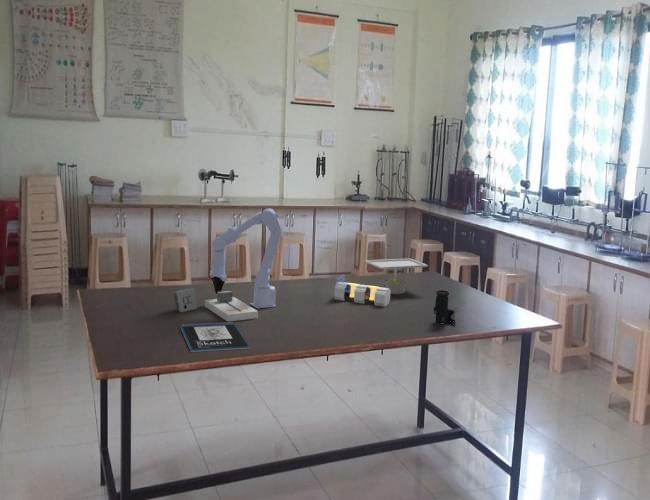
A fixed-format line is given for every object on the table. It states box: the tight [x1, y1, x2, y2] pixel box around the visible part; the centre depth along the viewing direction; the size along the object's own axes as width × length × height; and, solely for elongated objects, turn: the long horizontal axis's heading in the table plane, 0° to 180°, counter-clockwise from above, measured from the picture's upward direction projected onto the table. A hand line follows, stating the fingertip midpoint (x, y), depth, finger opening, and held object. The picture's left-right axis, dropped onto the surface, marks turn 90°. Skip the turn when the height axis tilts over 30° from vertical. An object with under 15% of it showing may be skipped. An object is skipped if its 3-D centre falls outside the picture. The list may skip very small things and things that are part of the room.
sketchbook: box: [180, 321, 251, 353], centre depth 259 cm, size 22×30×2 cm
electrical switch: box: [173, 287, 198, 313], centre depth 293 cm, size 9×5×9 cm, turn 141°
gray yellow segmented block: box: [333, 273, 391, 308], centre depth 323 cm, size 25×10×13 cm, turn 70°
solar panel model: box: [363, 258, 429, 295], centre depth 346 cm, size 28×17×15 cm, turn 115°
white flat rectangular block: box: [204, 296, 259, 323], centre depth 294 cm, size 14×25×3 cm, turn 32°
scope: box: [433, 289, 458, 324], centre depth 294 cm, size 8×14×10 cm
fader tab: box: [216, 290, 233, 302], centre depth 299 cm, size 6×3×4 cm, turn 122°
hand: (218, 293), depth 305 cm, fingers closed
